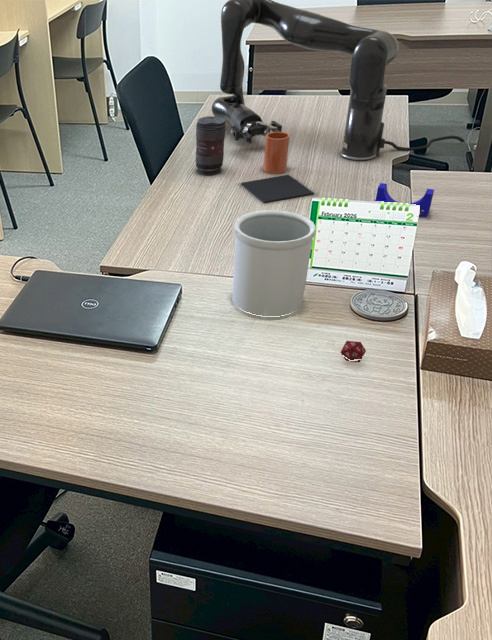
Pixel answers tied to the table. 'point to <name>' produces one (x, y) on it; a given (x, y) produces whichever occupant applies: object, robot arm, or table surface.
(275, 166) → the cup
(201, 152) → the camera lens
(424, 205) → the blue cradle bracket
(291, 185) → the desk mat
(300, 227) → the utensil holder
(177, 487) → the table surface
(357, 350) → the dice
